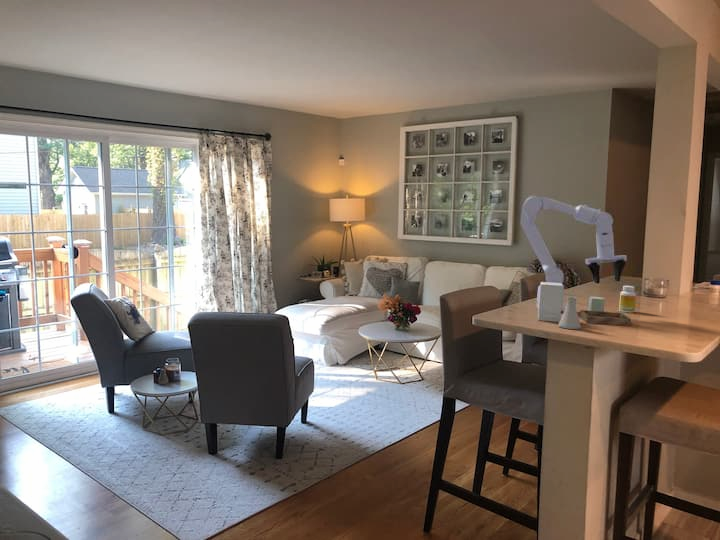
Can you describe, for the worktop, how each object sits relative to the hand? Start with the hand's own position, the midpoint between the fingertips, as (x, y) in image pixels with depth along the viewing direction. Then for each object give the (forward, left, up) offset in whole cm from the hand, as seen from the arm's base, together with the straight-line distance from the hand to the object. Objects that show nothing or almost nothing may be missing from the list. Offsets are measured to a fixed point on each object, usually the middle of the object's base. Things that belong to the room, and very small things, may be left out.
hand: (607, 282), depth 208 cm
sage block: (-3, 0, -12) cm, 13 cm away
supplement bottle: (+10, +9, -12) cm, 18 cm away
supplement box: (-22, -17, -12) cm, 30 cm away
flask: (-17, -28, -12) cm, 35 cm away
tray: (-3, -13, -12) cm, 18 cm away
